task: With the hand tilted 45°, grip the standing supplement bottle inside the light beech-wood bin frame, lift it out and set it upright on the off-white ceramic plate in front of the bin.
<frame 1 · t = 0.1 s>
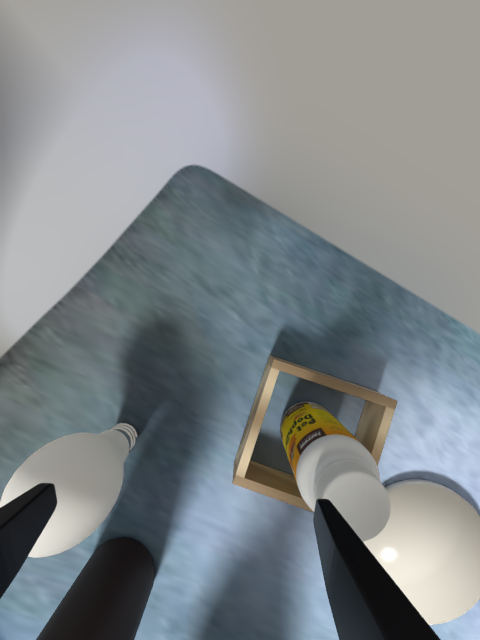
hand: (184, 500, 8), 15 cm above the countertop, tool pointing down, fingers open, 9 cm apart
plate: (418, 545, 22), on the countertop
supplement bottle: (305, 426, 23), resting in bin frame
vinegar: (124, 567, 23), on the countertop
bin frame: (305, 427, 23), on the countertop
light bulb: (128, 432, 23), on the countertop
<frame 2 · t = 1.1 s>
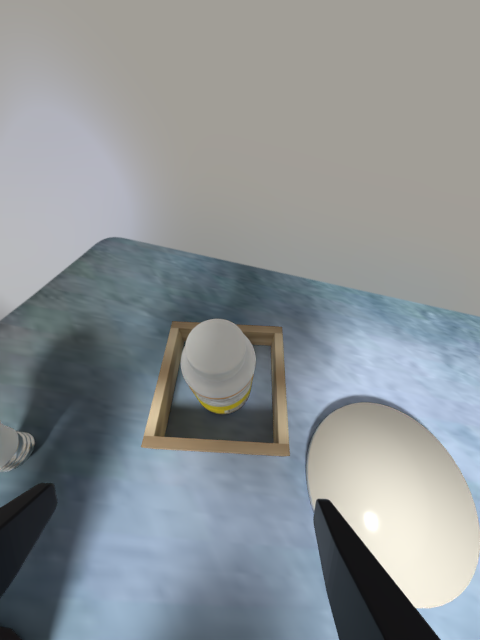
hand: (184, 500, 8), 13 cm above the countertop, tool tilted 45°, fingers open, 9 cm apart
plate: (383, 484, 19), on the countertop
supplement bottle: (223, 387, 23), resting in bin frame
bin frame: (223, 387, 23), on the countertop
light bulb: (25, 451, 20), on the countertop
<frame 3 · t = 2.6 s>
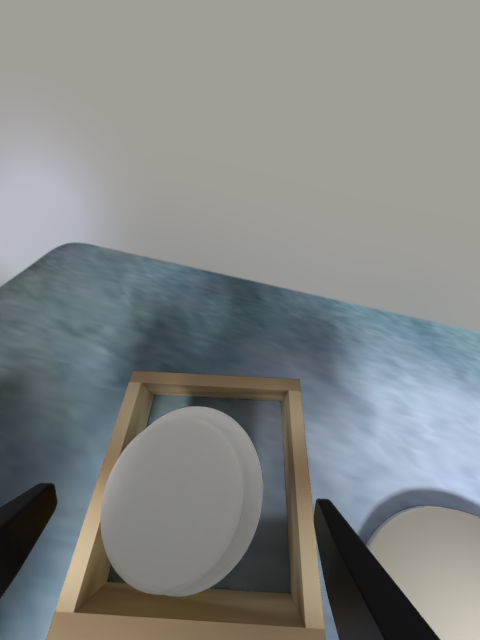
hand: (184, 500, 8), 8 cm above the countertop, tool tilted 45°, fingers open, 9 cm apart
supplement bottle: (210, 474, 15), resting in bin frame
bin frame: (209, 475, 15), on the countertop
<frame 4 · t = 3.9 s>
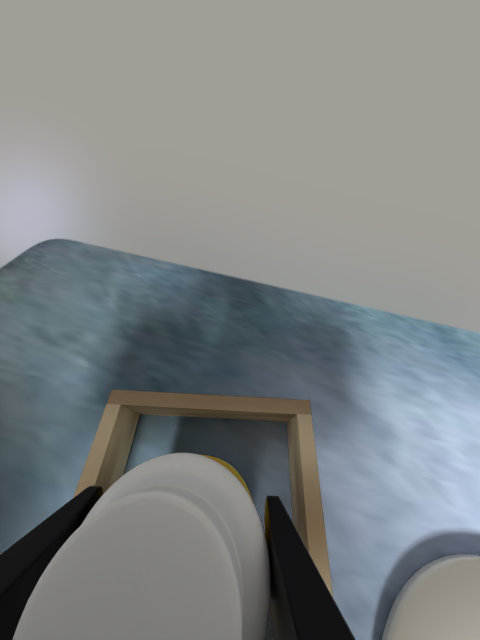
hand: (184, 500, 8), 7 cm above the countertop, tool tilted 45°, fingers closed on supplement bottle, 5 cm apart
supplement bottle: (203, 514, 13), resting in bin frame, touching gripper
bin frame: (202, 514, 12), on the countertop
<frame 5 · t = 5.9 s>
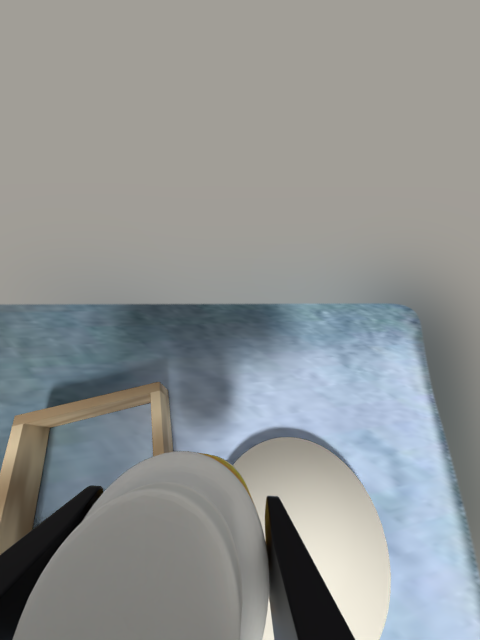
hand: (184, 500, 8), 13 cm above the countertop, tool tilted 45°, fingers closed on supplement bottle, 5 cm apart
plate: (294, 534, 17), on the countertop
supplement bottle: (203, 512, 13), point 6 cm above the countertop, touching gripper
bin frame: (103, 475, 19), on the countertop
when the fingers open (9 cm above the countertop, at t = 8.0 s): supplement bottle drops 1 cm, resting on plate.
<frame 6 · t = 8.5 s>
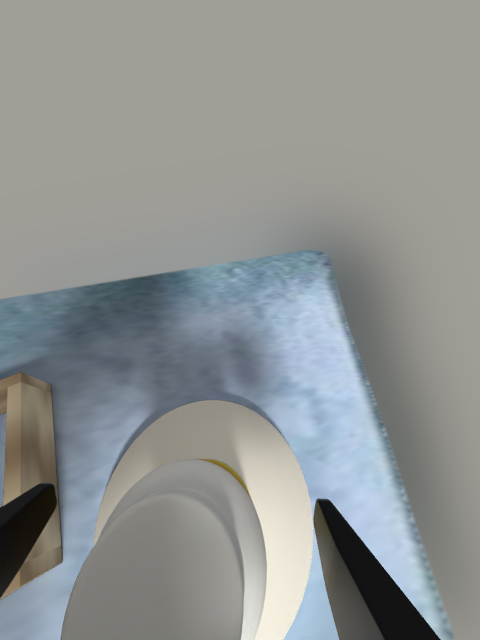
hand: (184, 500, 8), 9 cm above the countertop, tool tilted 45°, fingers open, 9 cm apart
plate: (207, 507, 14), on the countertop
supplement bottle: (206, 512, 14), point 1 cm above the countertop, touching plate
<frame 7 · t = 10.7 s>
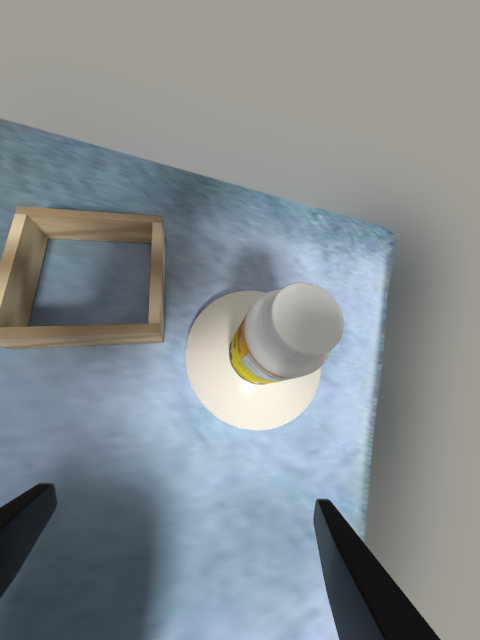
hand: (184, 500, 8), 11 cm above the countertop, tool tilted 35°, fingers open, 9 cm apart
plate: (254, 354, 21), on the countertop
supplement bottle: (256, 355, 21), point 1 cm above the countertop, touching plate
bin frame: (99, 285, 21), on the countertop
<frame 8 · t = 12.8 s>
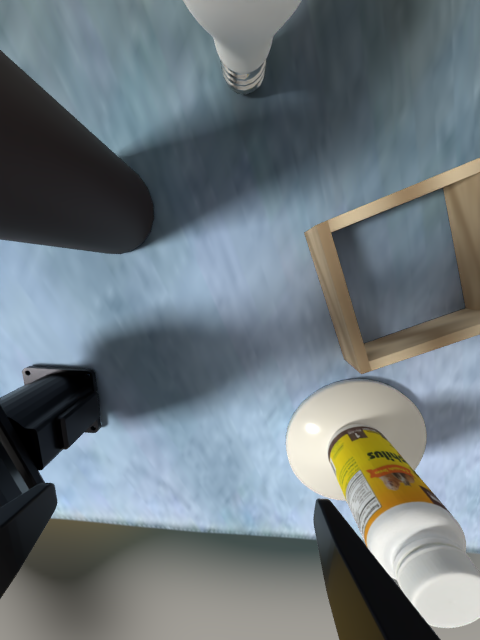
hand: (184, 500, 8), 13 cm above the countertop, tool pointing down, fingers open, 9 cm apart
plate: (351, 439, 22), on the countertop
supplement bottle: (353, 444, 21), point 1 cm above the countertop, touching plate
vinegar: (115, 211, 18), on the countertop
bin frame: (393, 274, 18), on the countertop
light bulb: (243, 81, 16), on the countertop
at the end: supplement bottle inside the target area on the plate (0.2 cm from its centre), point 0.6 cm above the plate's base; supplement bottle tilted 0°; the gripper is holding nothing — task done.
